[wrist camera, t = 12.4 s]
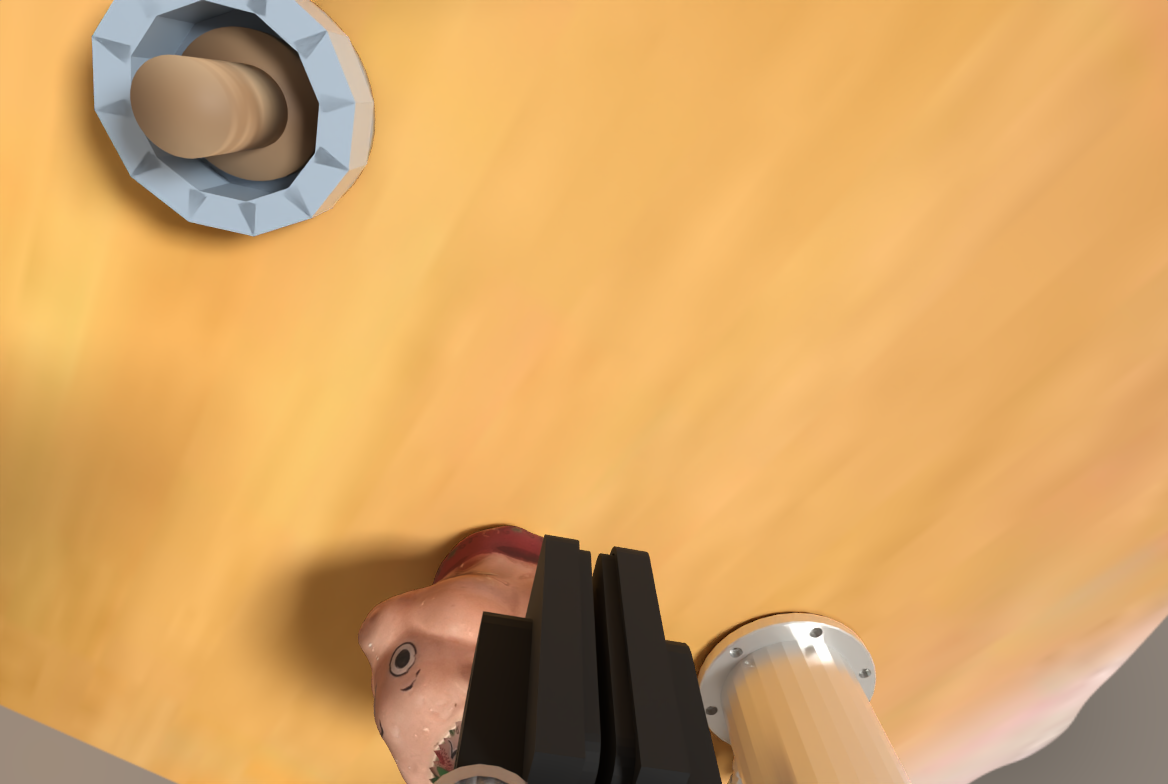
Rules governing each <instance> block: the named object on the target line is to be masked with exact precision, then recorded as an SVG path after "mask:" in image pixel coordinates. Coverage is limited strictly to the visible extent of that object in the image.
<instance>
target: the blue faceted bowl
mask: <svg viewBox="0 0 1168 784" xmlns="http://www.w3.org/2000/svg"><path fill="white" fill-rule="evenodd" d="M229 26H234V27H245V28H250V29H254V30H259V31H262V32H266V33H269V34H272V35H274V36H276V37H278V38H280V39H282V40H283V41H285V42H286V43H288V44H289V45H290V46H291V47H293V48H294V49H295V50H296V51H297V52H298V54H299V56H300V58H301V61H302V63H303V66H304V68H305V70H306V73H307V75H308V78H309V80H310V83H311V85H312V87H313V90H314V92H315V95H316V97H317V99H318V102H319V114H318V126H317V137H316V149H315V154H314V155H313V157H312V158H311V159H310V160H309V162H308V163H307V164H306V166H305V167H304V168H303V169H302V170H300V171H298V172H296V173H294V174H291V175H289V176H285V177H282V178H278V179H274V180H267V181H253V180H247V179H242V178H239V177H236V176H233V175H231V174H228V173H226V172H224V171H223V170H221V169H219V168H217V167H216V166H215V165H213V164H212V163H210V162H209V161H208V160H207V159H206V158H205V157H202V158H194V159H191V158H182V157H178V156H174V155H172V154H169V153H167V152H165V151H164V150H162V149H160V148H159V147H158V146H156V145H155V144H154V143H153V142H152V141H151V140H150V139H149V138H148V137H147V136H146V135H145V134H144V132H143V131H142V130H141V128H140V127H139V125H138V123H137V121H136V119H135V117H134V114H133V111H132V107H131V101H130V89H131V83H132V80H133V77H134V75H135V74H136V72H137V70H138V69H139V68H140V66H142V65H143V64H144V63H145V62H146V61H148V60H149V59H152V58H154V57H157V56H160V55H179V56H182V54H183V52H184V51H185V49H186V48H187V47H188V46H189V44H191V43H192V42H193V41H194V40H195V39H196V38H197V37H199V36H201V35H202V34H204V33H206V32H208V31H210V30H213V29H217V28H221V27H229ZM92 53H93V82H94V110H95V111H96V113H97V115H98V117H99V119H100V121H101V123H102V124H103V126H104V128H105V130H106V132H107V134H108V135H109V137H110V139H111V141H112V143H113V145H114V147H115V148H116V150H117V152H118V154H119V156H120V158H121V159H122V161H123V163H124V165H125V167H126V169H127V171H128V172H129V174H130V176H131V177H132V178H133V179H134V180H136V181H137V182H138V183H140V184H141V185H142V186H143V187H145V188H146V189H147V190H149V191H150V192H151V193H152V194H154V195H155V196H156V197H158V198H159V199H160V200H161V201H163V202H164V203H165V204H167V205H168V206H169V207H170V208H172V209H173V210H174V211H176V212H177V213H178V214H179V215H181V216H182V217H183V218H185V219H186V220H187V221H188V222H192V223H196V224H201V225H205V226H210V227H214V228H219V229H223V230H228V231H232V232H237V233H241V234H246V235H250V236H256V235H259V234H263V233H266V232H269V231H272V230H275V229H278V228H282V227H285V226H288V225H291V224H294V223H297V222H300V221H304V220H307V219H310V218H313V217H315V216H317V215H319V214H321V213H323V212H325V211H327V210H329V209H331V208H333V206H334V205H335V204H336V203H337V201H338V200H339V199H340V198H341V197H342V196H343V195H345V194H346V192H347V191H348V190H349V189H350V188H351V187H352V186H353V185H354V184H355V182H356V181H357V179H358V178H359V176H360V175H361V173H362V171H363V169H364V167H365V166H366V165H367V161H368V158H369V155H370V152H371V149H372V144H373V139H374V133H375V108H374V100H373V94H372V89H371V85H370V82H369V79H368V76H367V73H366V70H365V68H364V66H363V63H362V61H361V59H360V57H359V55H358V53H357V51H356V50H355V48H354V46H353V45H352V43H351V41H350V39H349V37H348V36H347V35H346V34H345V33H344V32H343V31H342V29H341V28H340V27H339V26H338V25H337V24H336V22H335V21H334V20H333V19H332V18H331V17H330V16H329V15H328V14H327V13H326V12H324V11H323V10H322V9H321V8H320V7H318V6H317V5H316V4H315V3H313V2H312V1H310V0H114V1H113V3H112V4H111V6H110V8H109V9H108V11H107V12H106V14H105V16H104V17H103V19H102V21H101V22H100V24H99V25H98V27H97V29H96V30H95V32H94V34H93V35H92Z"/></svg>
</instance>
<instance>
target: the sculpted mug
mask: <svg viewBox="0 0 1168 784" xmlns="http://www.w3.org/2000/svg"><path fill="white" fill-rule="evenodd" d="M543 539H544V538H543V537H541V536H538V535H535V534H533V533H530V532H528V531H526V530H525V529H523V528H520V527H516V526H500V527H495V528H490V529H486V530H482V531H478V532H476V533H473V534H471V535H469V536H468V537H466V538H465V539H463V540H462V541H461V542H459V543H458V544H457V545H456V546H455V547H454V548H453V549H452V550H451V551H450V553H449V554H448V555H447V556H446V558H445V559H444V560H443V562H442V563H441V565H440V567H439V569H438V571H437V574H436V576H435V579H434V582H433V585H431V586H429V587H425V588H420V589H416V590H412V591H409V592H406V593H403V594H400V595H397V596H394V597H392V598H389V599H387V600H385V601H383V602H381V603H379V604H378V605H376V606H375V607H374V608H373V609H372V610H371V612H370V613H369V614H368V616H367V617H366V619H365V620H364V622H363V624H362V626H361V628H360V631H359V634H358V640H359V645H360V647H361V649H362V650H363V652H364V653H365V655H366V656H367V658H368V660H369V663H370V665H371V668H372V684H371V687H372V692H373V696H374V717H375V722H376V725H377V728H378V730H379V732H380V735H381V737H382V738H383V740H384V741H385V743H386V744H387V746H388V748H389V750H390V752H391V754H392V756H393V758H394V760H395V762H396V764H397V766H398V769H399V771H400V773H401V775H402V777H403V779H404V780H405V782H406V783H407V784H434V783H435V782H436V781H437V780H438V779H439V778H440V777H441V776H442V775H444V774H446V773H449V772H451V771H453V768H454V763H455V757H456V751H457V746H458V740H459V734H460V729H461V723H462V717H463V712H464V706H465V701H466V695H467V690H468V684H469V679H470V674H471V668H472V663H473V658H474V653H475V648H476V643H477V638H478V633H479V628H480V623H481V618H482V614H483V611H486V612H492V613H498V614H504V615H511V616H517V617H523V618H525V616H526V612H527V607H528V603H529V599H530V594H531V590H532V586H533V581H534V577H535V573H536V568H537V564H538V560H539V555H540V551H541V547H542V543H543Z"/></svg>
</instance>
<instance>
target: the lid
mask: <svg viewBox="0 0 1168 784" xmlns="http://www.w3.org/2000/svg"><path fill="white" fill-rule="evenodd" d="M130 101H131V107H132V111H133V114H134V117H135V119H136V121H137V123H138V125H139V127H140V128H141V130H142V131H143V132H144V134H145V135H146V136H147V137H148V138H149V139H150V140H151V141H152V142H153V143H154V144H155V145H156V146H158V147H159V148H160V149H162V150H164V151H165V152H167V153H169V154H172V155H174V156H178V157H182V158H191V159H194V158H202V157H205V158H206V159H207V160H208V161H209V162H210V163H212V164H213V165H215V166H216V167H217V168H219V169H221V170H223V171H224V172H226V173H228V174H231V175H233V176H236V177H239V178H242V179H247V180H253V181H267V180H274V179H278V178H282V177H285V176H289V175H291V174H294V173H296V172H298V171H300V170H302V169H303V168H304V167H305V166H306V164H307V163H308V162H309V160H310V159H311V158H312V157H313V155H314V154H315V149H316V137H317V126H318V114H319V102H318V99H317V97H316V95H315V92H314V90H313V87H312V85H311V83H310V80H309V78H308V75H307V73H306V70H305V68H304V66H303V63H302V61H301V58H300V56H299V54H298V52H297V51H296V50H295V49H294V48H293V47H291V46H290V45H289V44H288V43H286V42H285V41H283V40H282V39H280V38H278V37H276V36H274V35H272V34H269V33H266V32H262V31H259V30H254V29H250V28H245V27H234V26H229V27H221V28H217V29H213V30H210V31H208V32H206V33H204V34H202V35H201V36H199V37H197V38H196V39H195V40H194V41H193V42H192V43H191V44H189V46H188V47H187V48H186V49H185V51H184V52H183V54H182V56H179V55H160V56H157V57H154V58H152V59H149V60H148V61H146V62H145V63H144V64H143V65H142V66H140V68H139V69H138V70H137V72H136V74H135V75H134V77H133V80H132V83H131V89H130Z"/></svg>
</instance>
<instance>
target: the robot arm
mask: <svg viewBox="0 0 1168 784" xmlns="http://www.w3.org/2000/svg"><path fill="white" fill-rule="evenodd" d="M875 683H876V672H875V665H874V663H873V660H872V657H871V655H870V653H869V651H868V650H867V648H866V646H865V644H864V643H863V641H862V640H861V639H860V638H859V637H858V636H857V634H856V633H855V632H854V631H853V630H851V629H850V628H848V627H847V626H845V625H844V624H842V623H840V622H838V621H835V620H833V619H831V618H828V617H824V616H820V615H815V614H807V613H788V614H778V615H773V616H769V617H766V618H762V619H758V620H756V621H754V622H751V623H749V624H746V625H744V626H742V627H740V628H739V629H737V630H735V631H734V632H732V633H730V634H729V635H728V636H726V637H725V638H724V639H723V640H722V641H721V642H719V643H718V644H717V645H716V646H715V647H714V649H713V650H712V651H711V652H710V653H709V655H708V656H707V657H706V659H705V661H704V663H703V665H702V667H701V668H700V672H699V675H698V679H697V675H696V671H695V667H694V662H693V658H692V654H691V651H690V648H689V646H688V645H687V644H686V643H681V642H674V641H668V640H665V636H664V631H663V626H662V621H661V615H660V610H659V605H658V599H657V594H656V589H655V584H654V578H653V573H652V568H651V562H650V557H649V554H648V553H647V552H644V551H638V550H633V549H627V548H621V547H615V546H614V547H613V548H612V550H611V553H610V555H608V554H602V553H600V554H599V556H598V558H597V561H596V565H595V569H594V572H593V576H592V567H591V553H590V551H584V550H579V541H578V540H574V539H569V538H563V537H557V536H551V535H545V536H544V539H543V543H542V547H541V551H540V555H539V560H538V564H537V568H536V573H535V577H534V581H533V586H532V590H531V594H530V599H529V603H528V607H527V612H526V616H525V618H523V617H517V616H511V615H504V614H498V613H492V612H486V611H483V614H482V618H481V623H480V628H479V633H478V638H477V643H476V648H475V653H474V658H473V663H472V668H471V674H470V679H469V684H468V690H467V695H466V701H465V706H464V712H463V717H462V723H461V729H460V734H459V740H458V746H457V751H456V757H455V763H454V768H453V771H451V772H449V773H446V774H444V775H442V776H441V777H440V778H439V779H438V780H437V781H436V782H435V783H434V784H722V782H721V778H720V773H719V769H718V765H717V761H716V756H715V752H714V748H713V743H712V739H711V735H710V731H709V728H710V730H711V731H712V732H713V733H714V734H715V735H717V736H718V737H719V738H720V739H721V740H723V741H725V742H726V743H728V744H730V745H731V747H732V750H733V754H734V760H733V762H732V765H733V770H734V773H733V774H732V775H731V776H730V779H729V781H728V783H727V784H912V783H911V781H910V779H909V777H908V775H907V773H906V771H905V770H904V768H903V766H902V764H901V762H900V760H899V758H898V756H897V754H896V752H895V750H894V748H893V746H892V745H891V743H890V741H889V739H888V737H887V735H886V733H885V731H884V729H883V727H882V725H881V723H880V721H879V720H878V718H877V716H876V714H875V712H874V710H873V708H872V706H871V704H870V700H871V698H872V695H873V693H874V689H875Z"/></svg>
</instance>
